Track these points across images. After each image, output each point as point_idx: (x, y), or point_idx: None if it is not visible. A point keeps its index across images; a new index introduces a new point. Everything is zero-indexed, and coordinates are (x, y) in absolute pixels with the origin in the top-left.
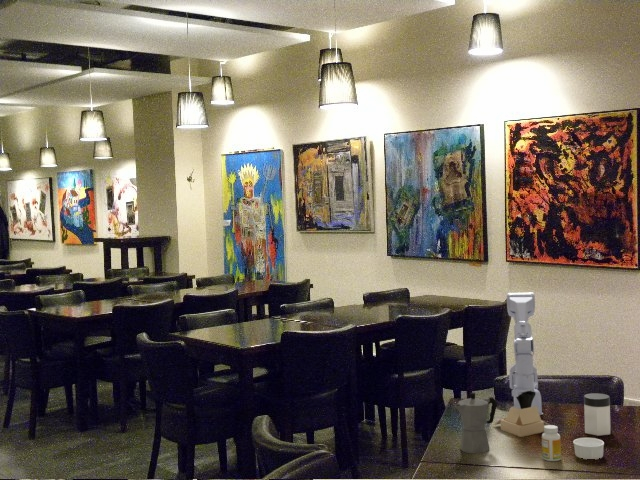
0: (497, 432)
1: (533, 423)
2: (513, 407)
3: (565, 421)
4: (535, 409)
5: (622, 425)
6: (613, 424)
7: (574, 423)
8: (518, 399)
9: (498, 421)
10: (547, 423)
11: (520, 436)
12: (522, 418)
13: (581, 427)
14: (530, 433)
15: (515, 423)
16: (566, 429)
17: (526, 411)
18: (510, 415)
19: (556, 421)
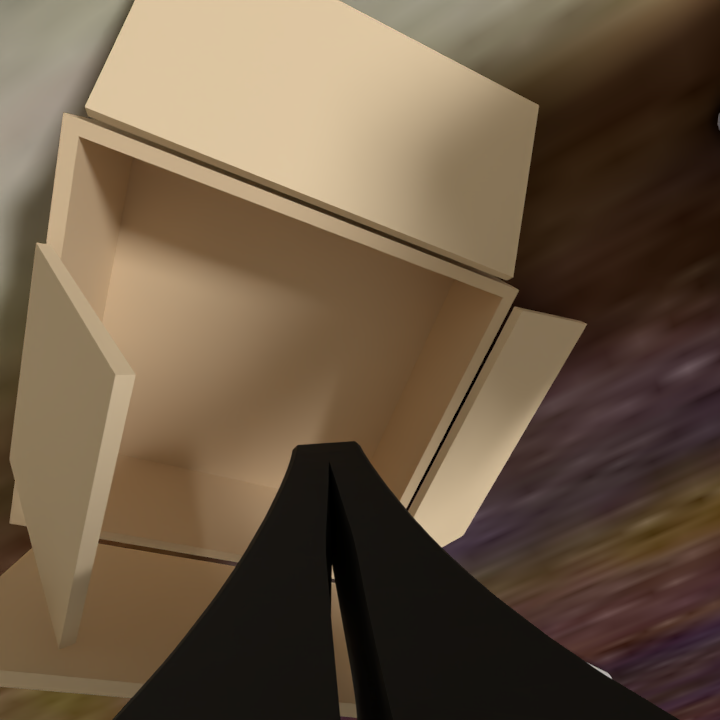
0: (5, 148)
1: (235, 556)
2: (99, 443)
3: (712, 478)
4: (337, 680)
5: (704, 707)
6: (712, 678)
7: (675, 542)
8: (153, 710)
9: (123, 41)
10: None
11: None
12: (41, 585)
13: (592, 609)
14: (197, 482)
15: (12, 458)
16: (505, 575)
17: (145, 654)
18: (51, 358)
19: (696, 430)
